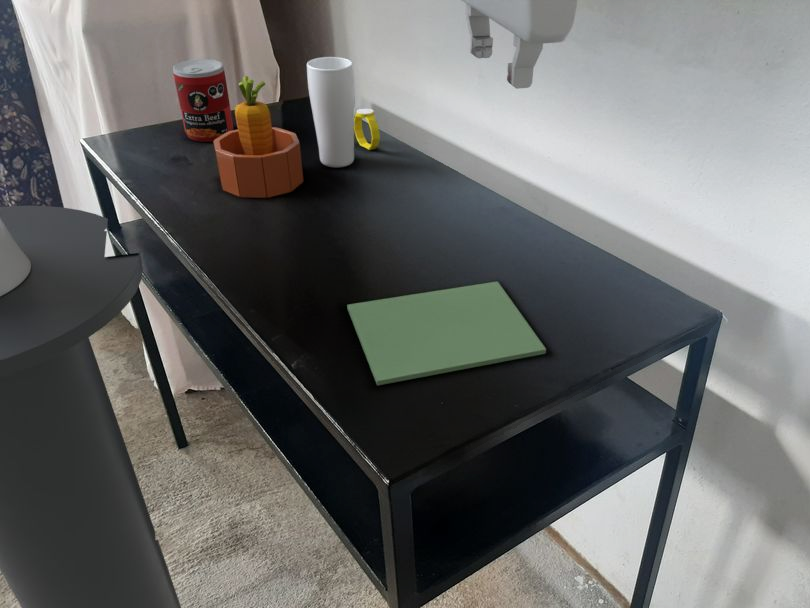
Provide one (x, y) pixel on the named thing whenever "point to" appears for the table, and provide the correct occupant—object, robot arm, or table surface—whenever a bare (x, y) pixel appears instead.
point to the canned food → (203, 99)
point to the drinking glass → (333, 108)
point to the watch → (373, 126)
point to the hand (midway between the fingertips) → (498, 70)
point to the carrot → (253, 121)
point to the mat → (441, 332)
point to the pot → (259, 165)
